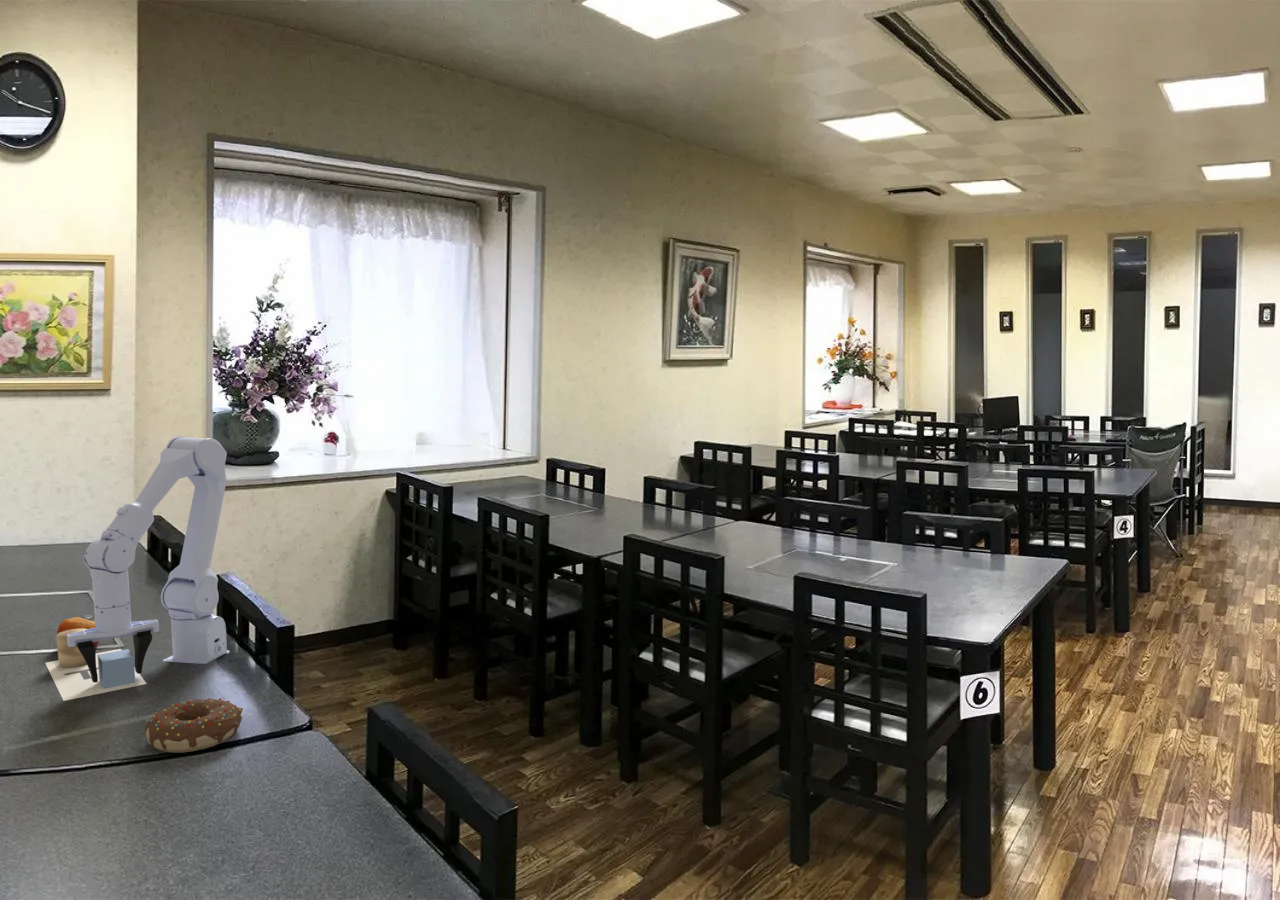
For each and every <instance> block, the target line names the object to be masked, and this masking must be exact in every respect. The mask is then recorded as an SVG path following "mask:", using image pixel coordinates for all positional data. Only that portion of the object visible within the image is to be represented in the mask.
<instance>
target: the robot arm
mask: <svg viewBox="0 0 1280 900" xmlns="http://www.w3.org/2000/svg"><path fill="white" fill-rule="evenodd" d="M227 455H228V453H227V451H226V450H225V448H224V447H223V444H221V443H220V442H219V441H218V440H217V439H216V438H211V437H210V438H209V437H207V438H201V437H199V438H198V437H197V438H196V437H185V436H180V435H179V436H176V437H173V438H171V439H170V440H169V441H168V443H167V445H166V447H165V448H164V449H163V450H161V452H160V461H159V463H158V464H157V466H156V468H155V470H154V471H153V472H152V474H151V476H150V477H149V479H148V480H147V482H146V484H145V485H144V487H143V488H142V490H141V492H140V493H139V495H138V497H137V498H136V500H135V501H133V502H130V503H126V504H124V505H123V506H121V507H119V508H118V510H117V511H116V515H115V517H114V518H113V520H112V521H111V522H110V524H109V525H108V527H107V529H105V530H103V532H101V535H100V538H97V539H95V540H93V541H91V542H90V544H89V545H88V546H87V547H86V548H85V555H82V561H83V564H84V565H85V566H86V567H87V568H88V569H89V574H90V575H89V576H90V577H91V584H92V600H93V609H94V610H93V611H94V612H93V613H94V622H95V628H92V629H88V630H84V631H80V632H76V633H71V634H67V645H68V646H69V647H73V646H77V648H78V649H79V651H80V652H81V654H82V655H83V657H84V659H85V661H86V663H87V665H88V668H89V671H90V674H91V679H92V681H93V683H95V682H98V675H97V669H96V653H97V650H96V646H95V647H94V644H93V642H96V641H99V642H100V641H106V640H111V639H117V638H125V637H128V636H132V639H133V647H134V667H135V671H136V672H137V674H140V675H141V674H142V673H143V672H142V671H143V665H144V661H145V657H146V654H147V651H148V648H149V647H150V645H151V643H152V642H153V641H152V640H153V634H152V632H153V633H157V632H160V621H159V620H158V619H156V618H155V619H148V620H147V619H146V620H138V621H137V620H136V621H132V611H131V610H132V609H131V597H130V596H131V595H130V585H129V584H130V581H129V568H130V566H132V564H134V562H135V559H136V549H137V548H138V544H139V543H140V541H141V540H142V539H143V537H144V535H145V534H146V533H147V531H148V529H149V528H150V527H151V526H152V524H153V523H154V521H155V517H154V513H153V511H154V510H155V508H156V507H157V506H158V505H159V504H160V502H161V501H162V500H163V499H164V498H165V496H166V495H167V494H168V493H169V492H170V490H171V489H172V488H173V487H174V486H175V484H176V483H177V482H178V481H179V480H180V479H183V478H188V480H189V481H190V483H191V484H193V487H194V490H193V495H192V501H191V505H190V509H189V510H190V511H189V514H188V515H189V516H188V520H187V526H186V531H185V536H184V541H183V547H182V551H181V556H180V561H179V564H178V565H177V566H176V567H175V568H174V569H173V570H171V571H170V572H169V575H168V579H167V582H166V583H165V585H164V586H163V588H162V589H161V591H160V593H161V594H160V601H161V604H162V606H163V607H164V608H165V609H166V610H167V611H168V616H170V628H171V645H172V646H171V647H172V655H171V656H168V657H167V658H163V660H162V662H170V663H171V662H172V663H184V664H185V663H186V664H188V663H189V664H199V665H200V664H204V665H205V664H208V663H210V662H212V661H214V660H216V659H218V658H219V657H221V656H223V655H225V654H227V655H228V654H230V650H228V647H227V646H228V645H227V644H228V642H227V627H226V626H227V625H226V622H225V620H224V618H223V617H221V616H219V615H215V614H214V610H215V609H216V607H217V606H218V603H219V597H220V596H219V590H218V583H219V578H218V576H217V575H216V574H215V573H214V571H213V569H212V568H211V564H212V558H213V553H214V547H215V542H216V538H217V533H218V527H219V522H220V517H221V512H222V506H223V503H224V502H223V501H224V497H225V490H226V485H227V475H226V468H225V465H226V460H227Z"/></svg>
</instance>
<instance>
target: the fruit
mask: <svg viewBox="0 0 1280 900" xmlns="http://www.w3.org/2000/svg"><path fill="white" fill-rule="evenodd" d="M92 628H95V620H89V619H88V618H82V617H80V616H79V617H78V616H74V617H72V618H66V619H64V620H62V621H61V623H60V624H59V625H58V628H57V632H56V635H57V634H58V633H60V632H63V631H66V630H71V629H92ZM99 642H100V641H96V642H93V644H94V647H95V648H96V646H97V645H98V644H99Z"/></svg>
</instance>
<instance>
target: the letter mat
mask: <svg viewBox="0 0 1280 900" xmlns="http://www.w3.org/2000/svg"><path fill="white" fill-rule="evenodd" d="M120 650H122V649H121V648H118V649H113V650H108V651H107V650H106V651H102V652H96V669H97V675H98V682H95V683H93V681H92V679H91V674H90V671H89V668H88V665H87V664H86V665H83V666H79V667H74V668H62V667H59V659H58V660H52V661H48V662H44V664H45V666H46V668H47V669H48V671H49V674H50V675H51V677H52V680H53V682H54V684H55V686H56V689H57V690H58V692H59V695H60V696H61V699H62V701H63V702H65V701H70V700H75V699H79V698H85V697H90V696H94V695H100V694H104V693H108V692H115V691H119V690H123V689H129V688H132V687H133V688H134V687H139V686H144V685H147V682H146V680H145V679H144V678H143V676H142V675H141V673H140V674H137V672H136V671H135V683H130V684H125V685H120V686H115V687H111V688H106V689H104V688H103V686H102V685H101V683H100V681H99V669H98V655H99V654H104V653H110V652H115V651H120ZM134 669H135V666H134Z"/></svg>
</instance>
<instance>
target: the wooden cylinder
mask: <svg viewBox="0 0 1280 900" xmlns="http://www.w3.org/2000/svg"><path fill="white" fill-rule="evenodd" d="M84 630H88V629H71V630H66V631H63V632H60V633H58V634H57V633H56V647H57V656H58V657H57V659H58V660H59V667H62V668H74V667H79V666H83V665H86V664H87V663H86V661H85V659H84V657H83V655H82V654H81V652H80V651H79V649H78V648H77V646H73V647H69V646H68V645H67V634H71V633H76V632H80V631H84Z"/></svg>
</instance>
